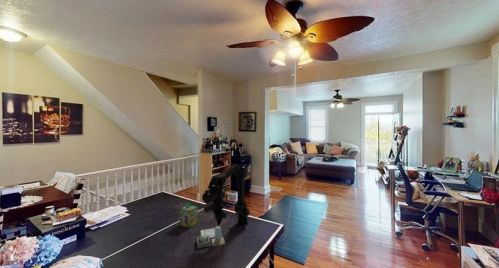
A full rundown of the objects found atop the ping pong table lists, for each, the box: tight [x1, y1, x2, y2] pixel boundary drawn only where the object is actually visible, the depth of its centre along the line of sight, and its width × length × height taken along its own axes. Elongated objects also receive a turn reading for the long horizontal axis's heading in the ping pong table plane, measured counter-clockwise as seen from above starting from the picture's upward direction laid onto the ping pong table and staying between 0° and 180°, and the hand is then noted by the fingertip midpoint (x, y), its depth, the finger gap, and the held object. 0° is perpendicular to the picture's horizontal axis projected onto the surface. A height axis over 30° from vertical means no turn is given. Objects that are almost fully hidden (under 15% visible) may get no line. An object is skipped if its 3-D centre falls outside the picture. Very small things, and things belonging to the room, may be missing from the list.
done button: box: [199, 234, 207, 243], centre depth 117 cm, size 4×4×3 cm
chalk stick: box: [214, 225, 222, 243], centre depth 119 cm, size 4×4×8 cm
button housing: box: [196, 235, 211, 249], centre depth 117 cm, size 7×7×2 cm
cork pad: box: [210, 236, 226, 247], centre depth 119 cm, size 7×7×1 cm
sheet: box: [200, 227, 223, 239], centre depth 128 cm, size 12×10×1 cm
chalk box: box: [178, 201, 199, 229], centre depth 140 cm, size 9×9×15 cm
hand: (218, 223), depth 118 cm, fingers open, 4 cm apart
